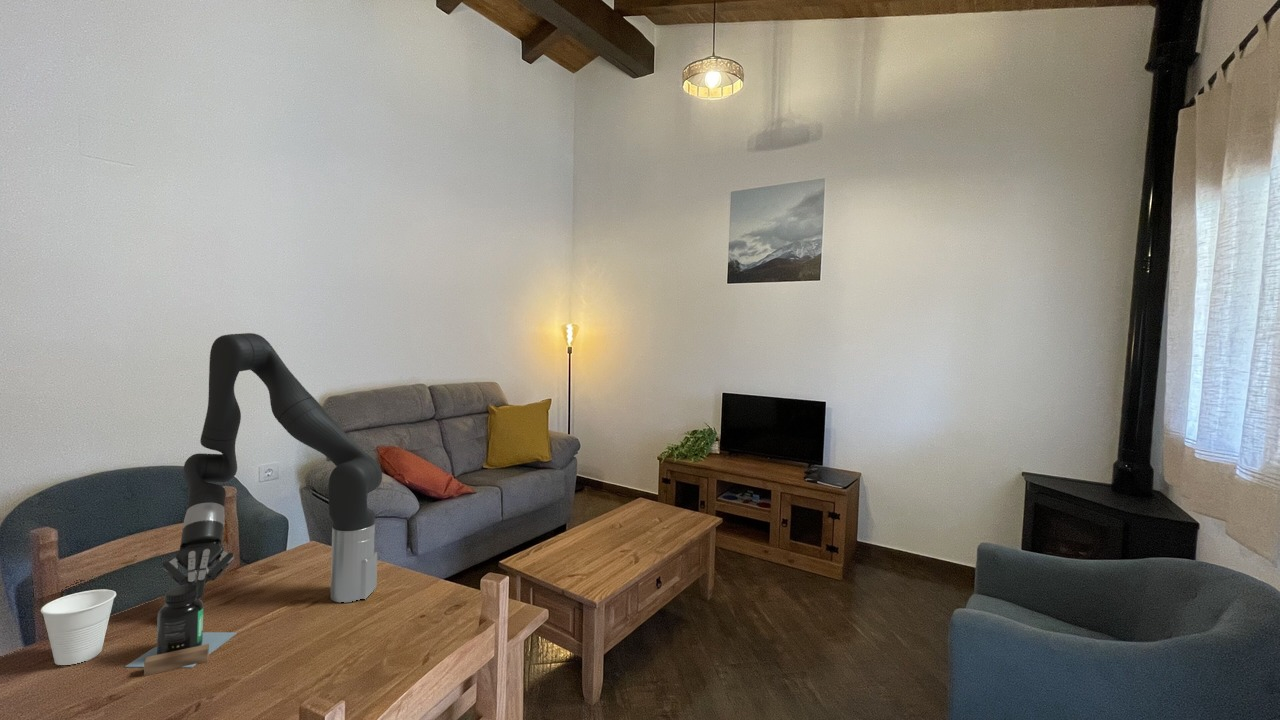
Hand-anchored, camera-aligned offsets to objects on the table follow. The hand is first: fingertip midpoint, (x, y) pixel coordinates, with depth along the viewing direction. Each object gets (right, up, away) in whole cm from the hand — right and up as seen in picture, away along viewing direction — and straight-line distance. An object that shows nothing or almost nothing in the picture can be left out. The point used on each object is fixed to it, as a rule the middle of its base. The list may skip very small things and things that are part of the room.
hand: (194, 600), depth 114 cm
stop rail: (+9, -6, -15) cm, 19 cm away
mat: (+6, -5, -10) cm, 13 cm away
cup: (-11, -5, -14) cm, 18 cm away
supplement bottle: (+6, -5, -10) cm, 13 cm away
